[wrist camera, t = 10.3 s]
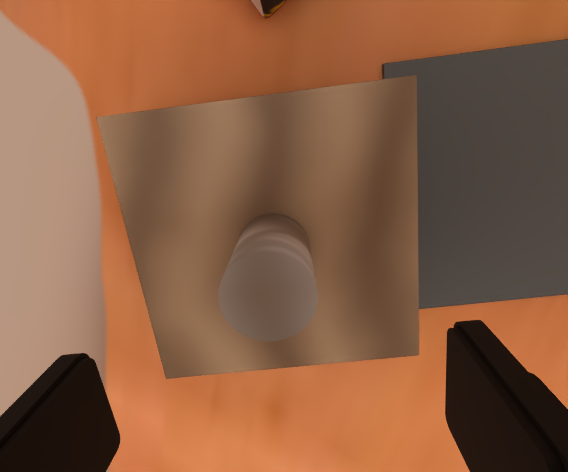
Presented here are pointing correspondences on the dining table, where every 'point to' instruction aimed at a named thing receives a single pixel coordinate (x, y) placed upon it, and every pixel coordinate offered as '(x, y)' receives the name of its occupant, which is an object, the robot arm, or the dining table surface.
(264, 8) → the medicine bottle
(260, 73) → the dining table surface
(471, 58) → the rubber mat
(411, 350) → the walnut lid
